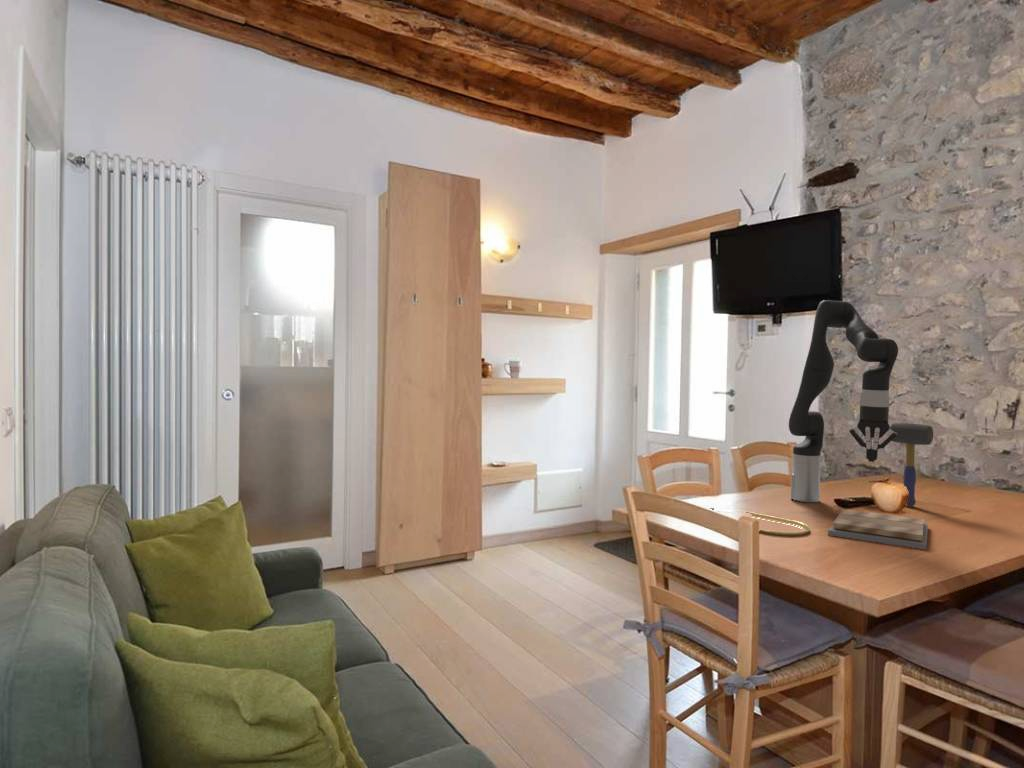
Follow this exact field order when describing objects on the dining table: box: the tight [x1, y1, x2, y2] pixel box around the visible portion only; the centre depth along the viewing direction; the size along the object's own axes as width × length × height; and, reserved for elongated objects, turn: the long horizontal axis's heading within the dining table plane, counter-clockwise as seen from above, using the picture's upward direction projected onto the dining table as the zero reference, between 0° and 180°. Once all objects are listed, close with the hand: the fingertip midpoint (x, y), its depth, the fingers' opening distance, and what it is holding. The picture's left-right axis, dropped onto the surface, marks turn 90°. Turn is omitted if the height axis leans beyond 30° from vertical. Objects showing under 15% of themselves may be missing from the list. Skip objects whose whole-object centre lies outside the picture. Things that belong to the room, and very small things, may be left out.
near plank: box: [832, 518, 923, 541], centre depth 178 cm, size 22×8×2 cm, turn 55°
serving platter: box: [709, 507, 811, 537], centre depth 193 cm, size 19×35×2 cm, turn 42°
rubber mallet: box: [889, 422, 934, 508], centre depth 219 cm, size 12×8×30 cm, turn 39°
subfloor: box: [827, 511, 929, 551], centre depth 184 cm, size 24×28×3 cm
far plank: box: [839, 508, 925, 528], centre depth 191 cm, size 22×8×2 cm, turn 55°
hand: (871, 461), depth 186 cm, fingers closed
